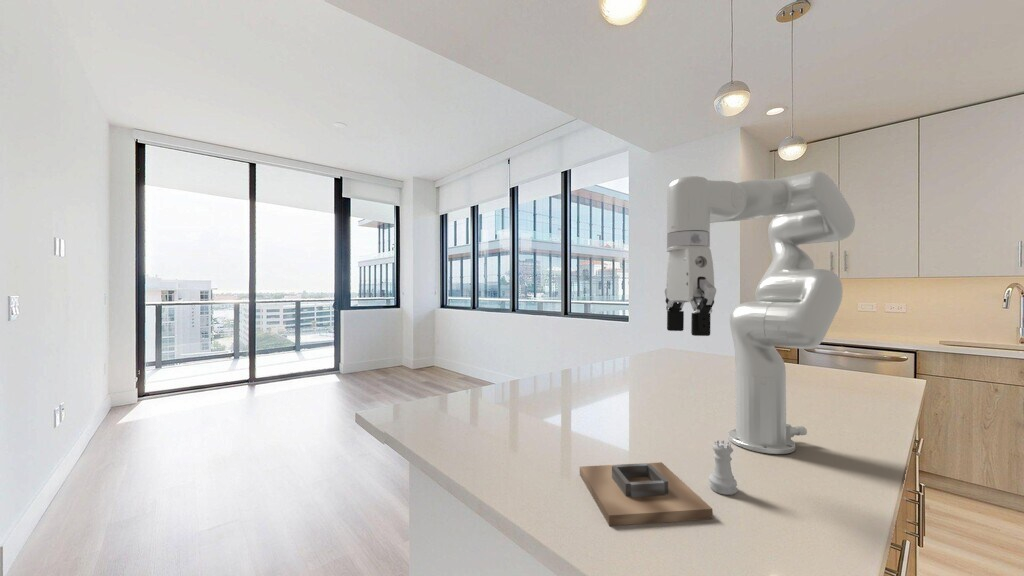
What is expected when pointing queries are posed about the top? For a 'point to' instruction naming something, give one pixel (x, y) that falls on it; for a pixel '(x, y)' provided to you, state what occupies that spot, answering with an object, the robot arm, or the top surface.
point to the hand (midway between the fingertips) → (687, 332)
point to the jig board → (642, 494)
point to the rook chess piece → (722, 470)
